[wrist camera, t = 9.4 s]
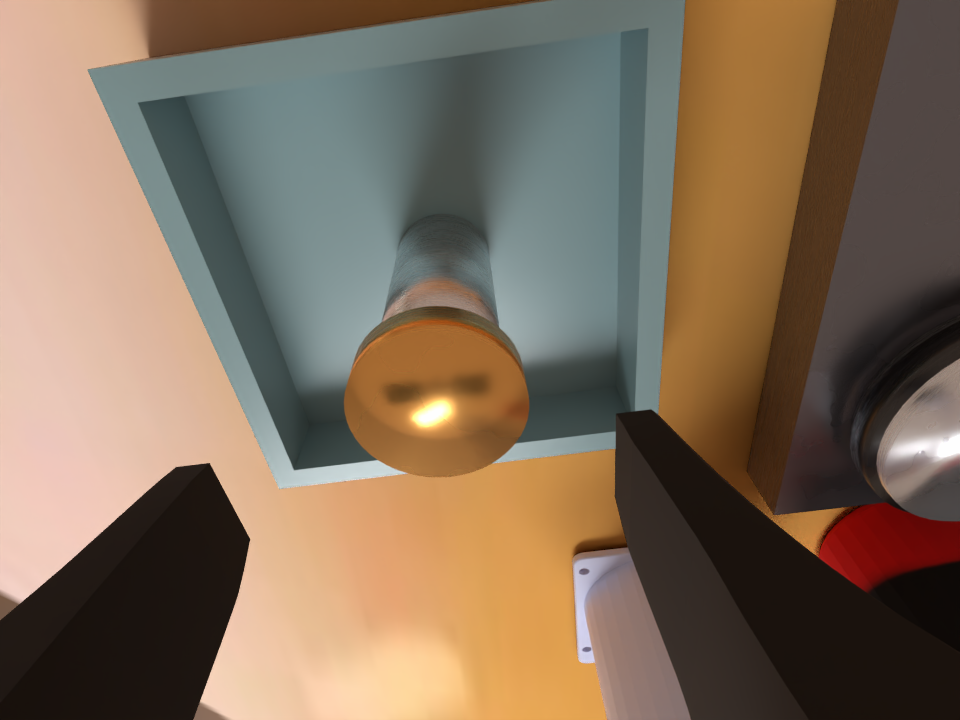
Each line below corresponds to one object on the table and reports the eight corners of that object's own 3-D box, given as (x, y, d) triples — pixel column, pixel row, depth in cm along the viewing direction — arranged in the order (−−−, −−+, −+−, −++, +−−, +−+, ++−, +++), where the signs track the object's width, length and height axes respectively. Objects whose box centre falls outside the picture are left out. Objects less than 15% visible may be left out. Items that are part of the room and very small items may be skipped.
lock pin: (506, 303, 19) (535, 466, 12) (397, 316, 19) (368, 486, 13) (495, 193, 17) (521, 318, 10) (373, 209, 17) (321, 343, 10)
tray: (633, 393, 22) (656, 443, 20) (298, 434, 23) (279, 488, 20) (646, -17, 15) (687, -20, 12) (148, 58, 15) (87, 69, 13)
